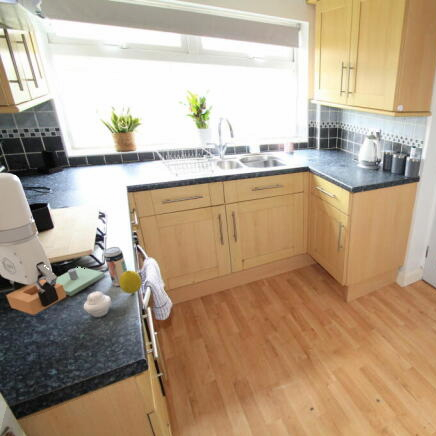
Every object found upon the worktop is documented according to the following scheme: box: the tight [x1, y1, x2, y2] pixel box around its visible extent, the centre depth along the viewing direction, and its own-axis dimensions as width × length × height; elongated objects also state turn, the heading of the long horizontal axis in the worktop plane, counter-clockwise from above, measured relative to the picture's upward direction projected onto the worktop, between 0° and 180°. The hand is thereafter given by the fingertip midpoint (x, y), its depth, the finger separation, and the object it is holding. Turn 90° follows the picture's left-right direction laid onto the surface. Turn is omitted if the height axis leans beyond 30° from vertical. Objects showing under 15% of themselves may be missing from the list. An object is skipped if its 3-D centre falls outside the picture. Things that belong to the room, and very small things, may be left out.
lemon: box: [119, 270, 142, 295], centre depth 95 cm, size 6×6×8 cm
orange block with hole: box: [5, 279, 67, 316], centre depth 74 cm, size 7×7×4 cm
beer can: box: [103, 246, 128, 287], centre depth 99 cm, size 5×5×12 cm
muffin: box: [83, 291, 112, 318], centre depth 87 cm, size 6×6×7 cm
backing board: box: [56, 266, 106, 297], centre depth 100 cm, size 11×11×4 cm
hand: (38, 298), depth 75 cm, fingers closed on orange block with hole, 7 cm apart
